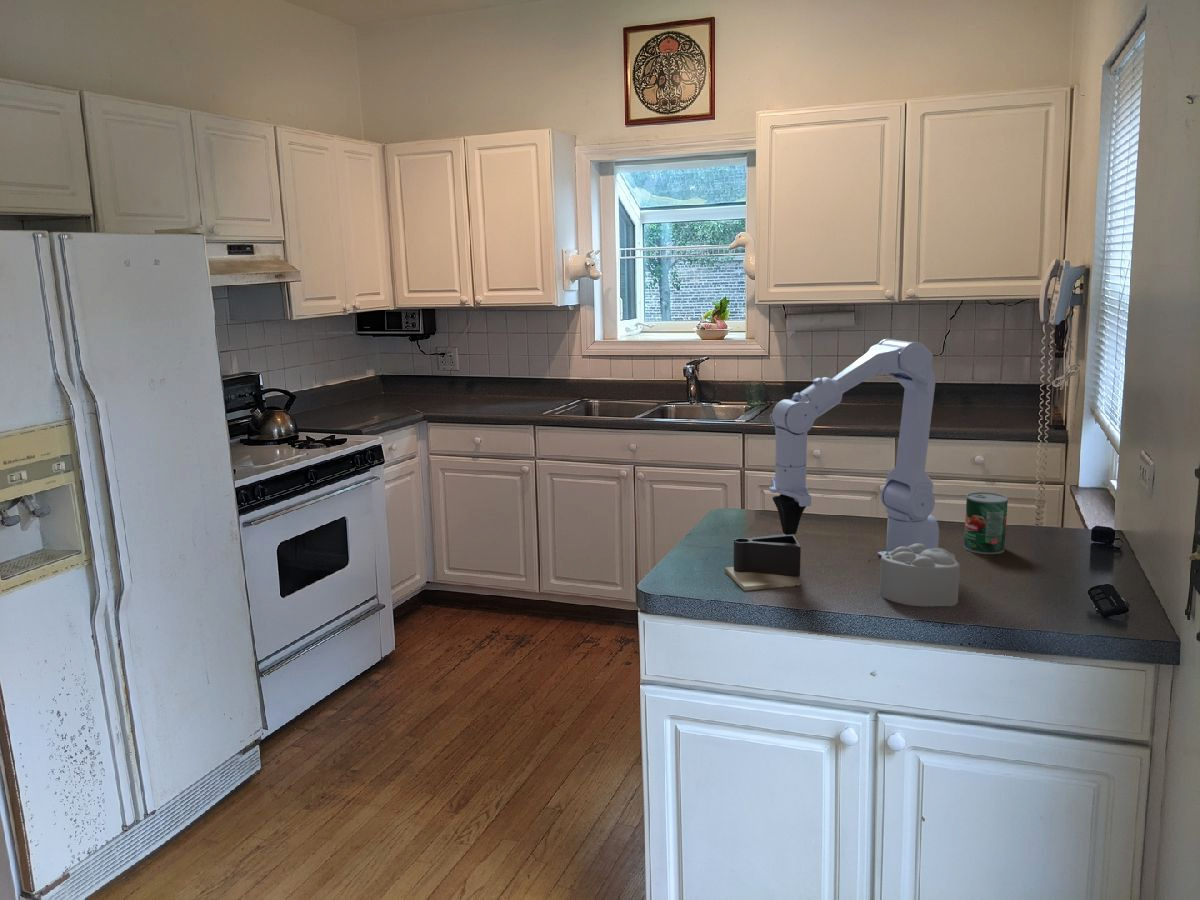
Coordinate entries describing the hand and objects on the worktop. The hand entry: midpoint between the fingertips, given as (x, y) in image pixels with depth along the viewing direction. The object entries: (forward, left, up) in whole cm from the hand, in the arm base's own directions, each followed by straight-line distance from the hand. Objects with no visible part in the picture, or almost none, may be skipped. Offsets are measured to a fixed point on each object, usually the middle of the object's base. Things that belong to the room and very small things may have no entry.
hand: (789, 533), depth 178 cm
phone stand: (-2, -1, -5) cm, 5 cm away
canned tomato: (-45, -5, -9) cm, 46 cm away
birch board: (+6, 0, -8) cm, 10 cm away
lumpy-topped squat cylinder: (-18, +16, -9) cm, 25 cm away
